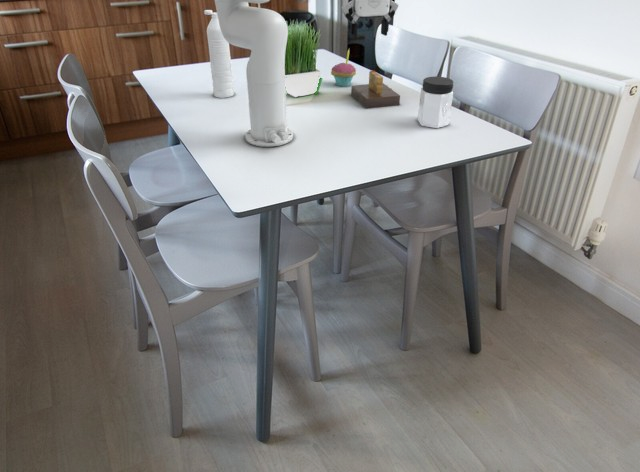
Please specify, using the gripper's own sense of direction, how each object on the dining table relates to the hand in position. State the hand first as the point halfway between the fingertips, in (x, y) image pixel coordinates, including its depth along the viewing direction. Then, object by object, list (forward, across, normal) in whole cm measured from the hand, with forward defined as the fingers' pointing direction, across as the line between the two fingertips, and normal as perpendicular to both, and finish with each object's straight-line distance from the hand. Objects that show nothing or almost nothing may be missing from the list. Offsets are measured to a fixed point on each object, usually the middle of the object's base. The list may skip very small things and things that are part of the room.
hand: (369, 35), depth 150 cm
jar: (+19, +10, -26) cm, 34 cm away
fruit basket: (+19, -18, +10) cm, 28 cm away
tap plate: (+19, +2, -2) cm, 19 cm away
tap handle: (+16, +2, -1) cm, 16 cm away
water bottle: (+19, -44, +18) cm, 51 cm away
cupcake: (+20, -2, +17) cm, 26 cm away
